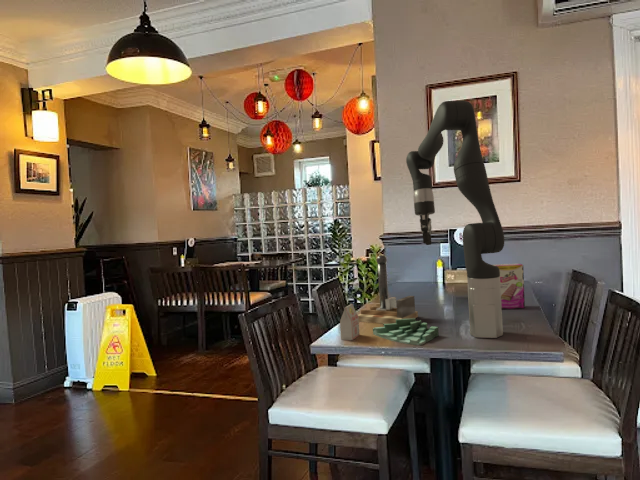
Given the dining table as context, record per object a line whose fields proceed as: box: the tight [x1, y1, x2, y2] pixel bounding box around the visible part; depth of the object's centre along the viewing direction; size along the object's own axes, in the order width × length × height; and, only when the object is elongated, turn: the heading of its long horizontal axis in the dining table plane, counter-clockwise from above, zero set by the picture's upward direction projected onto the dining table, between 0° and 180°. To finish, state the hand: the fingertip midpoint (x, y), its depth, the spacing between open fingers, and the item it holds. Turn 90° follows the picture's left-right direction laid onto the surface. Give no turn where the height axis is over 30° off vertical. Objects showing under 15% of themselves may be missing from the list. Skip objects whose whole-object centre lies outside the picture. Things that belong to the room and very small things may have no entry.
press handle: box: [376, 254, 397, 312], centre depth 170 cm, size 6×5×21 cm
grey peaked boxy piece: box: [339, 303, 360, 341], centre depth 147 cm, size 4×7×10 cm, turn 157°
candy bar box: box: [493, 263, 526, 310], centre depth 176 cm, size 11×5×16 cm, turn 84°
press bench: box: [357, 295, 419, 325], centre depth 170 cm, size 18×14×8 cm
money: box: [372, 318, 440, 346], centre depth 144 cm, size 20×16×5 cm
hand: (427, 243), depth 178 cm, fingers open, 8 cm apart
